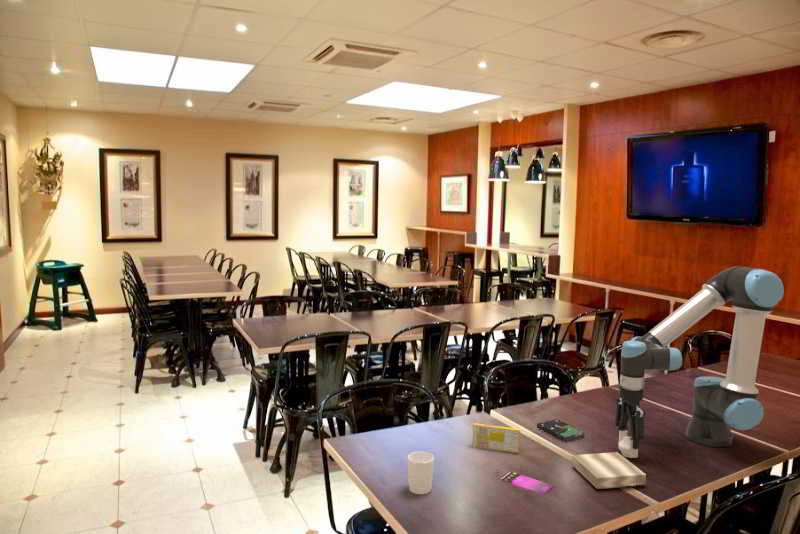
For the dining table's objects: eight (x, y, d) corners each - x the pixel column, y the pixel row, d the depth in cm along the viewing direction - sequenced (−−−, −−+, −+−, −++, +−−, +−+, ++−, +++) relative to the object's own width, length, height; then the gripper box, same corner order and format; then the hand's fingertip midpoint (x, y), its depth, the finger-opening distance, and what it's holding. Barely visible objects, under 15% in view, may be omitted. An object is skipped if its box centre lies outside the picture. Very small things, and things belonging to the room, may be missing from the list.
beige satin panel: (616, 463, 190) (617, 452, 190) (645, 487, 174) (645, 474, 174) (571, 466, 187) (572, 455, 187) (596, 490, 172) (597, 478, 171)
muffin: (640, 455, 196) (641, 436, 196) (633, 461, 192) (634, 441, 191) (622, 450, 200) (623, 431, 200) (615, 455, 196) (616, 436, 195)
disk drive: (536, 430, 219) (564, 444, 206) (536, 423, 219) (564, 436, 206) (556, 425, 224) (585, 438, 211) (556, 418, 224) (585, 431, 211)
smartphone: (510, 473, 184) (510, 470, 184) (554, 487, 174) (554, 484, 174) (499, 481, 178) (499, 478, 178) (543, 496, 169) (543, 493, 169)
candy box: (519, 451, 199) (520, 428, 198) (518, 454, 197) (519, 430, 196) (473, 444, 204) (473, 422, 203) (472, 447, 202) (472, 424, 201)
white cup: (405, 483, 175) (406, 451, 174) (431, 482, 176) (431, 451, 175) (408, 496, 167) (408, 463, 166) (435, 495, 168) (435, 462, 167)
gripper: (606, 379, 202) (603, 442, 205) (637, 396, 184) (633, 466, 186) (626, 378, 203) (622, 441, 206) (658, 395, 185) (654, 464, 187)
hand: (627, 452), depth 196 cm, fingers closed on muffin, 6 cm apart
